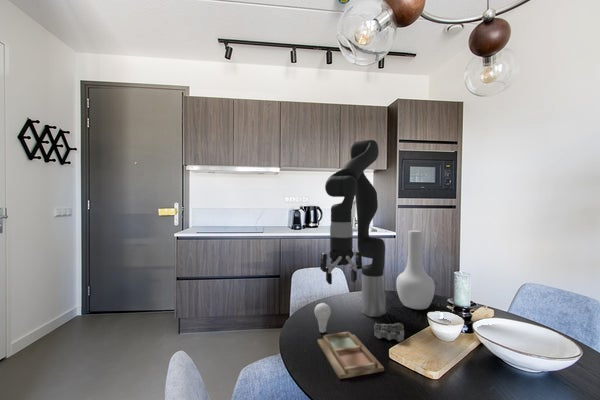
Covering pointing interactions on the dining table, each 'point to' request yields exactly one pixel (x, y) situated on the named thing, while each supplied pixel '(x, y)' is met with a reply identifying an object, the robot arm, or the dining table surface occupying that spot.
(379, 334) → the egg carton
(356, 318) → the dining table surface
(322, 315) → the lightbulb
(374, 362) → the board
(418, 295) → the vase
